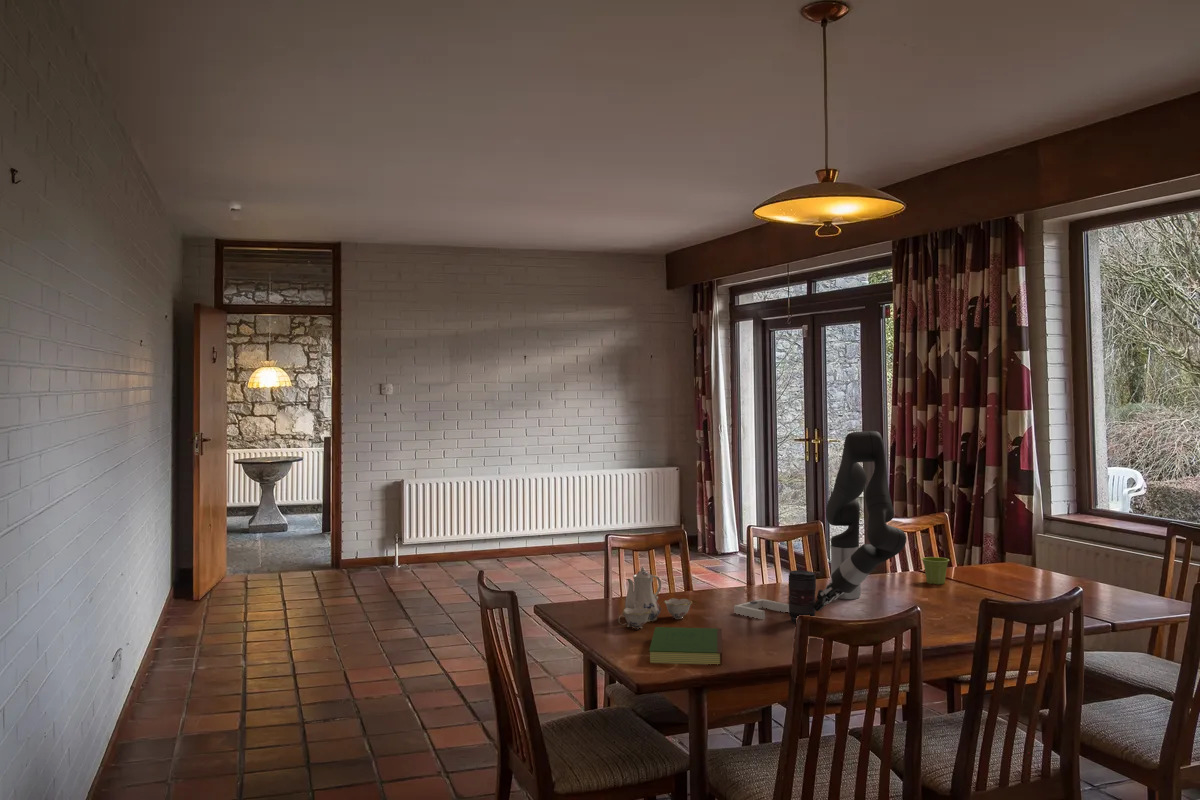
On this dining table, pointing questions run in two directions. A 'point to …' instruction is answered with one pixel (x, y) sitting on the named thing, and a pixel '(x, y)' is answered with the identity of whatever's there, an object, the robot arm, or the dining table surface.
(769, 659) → the dining table surface
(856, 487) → the robot arm
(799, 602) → the camera lens
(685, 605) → the chinaware
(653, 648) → the hardcover book
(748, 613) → the mount cradle
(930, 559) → the plant pot
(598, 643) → the dining table surface
